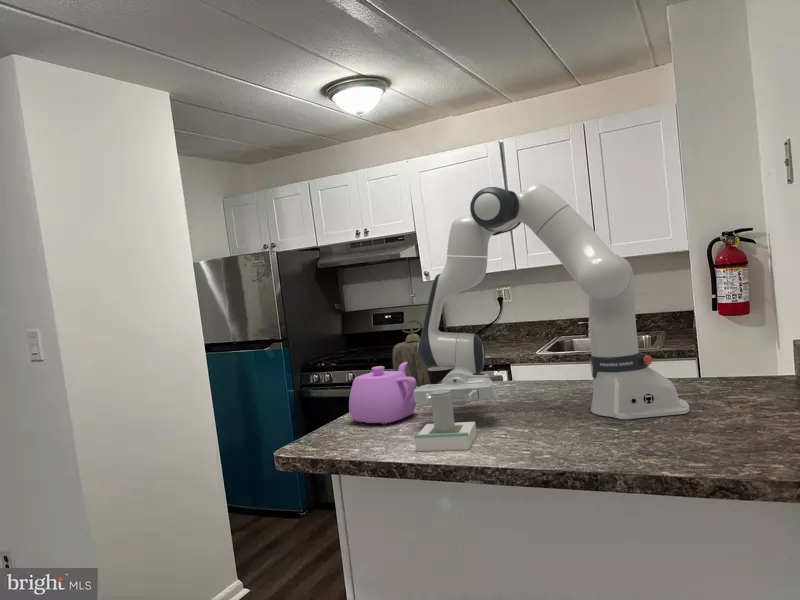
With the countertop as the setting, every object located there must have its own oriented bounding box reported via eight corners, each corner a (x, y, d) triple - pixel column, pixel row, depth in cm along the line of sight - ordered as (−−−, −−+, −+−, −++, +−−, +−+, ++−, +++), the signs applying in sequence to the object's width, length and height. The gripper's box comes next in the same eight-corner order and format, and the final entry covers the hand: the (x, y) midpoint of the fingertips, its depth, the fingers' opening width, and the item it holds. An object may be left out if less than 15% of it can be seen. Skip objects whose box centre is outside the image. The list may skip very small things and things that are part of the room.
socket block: (476, 434, 138) (475, 419, 138) (469, 449, 127) (467, 433, 127) (427, 436, 142) (426, 421, 142) (416, 451, 130) (414, 435, 130)
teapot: (402, 429, 151) (395, 372, 150) (341, 425, 163) (335, 372, 163) (447, 408, 169) (441, 357, 169) (389, 406, 182) (384, 358, 181)
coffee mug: (427, 403, 179) (423, 371, 179) (436, 397, 187) (432, 366, 187) (463, 402, 175) (459, 369, 174) (471, 395, 182) (467, 364, 182)
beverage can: (456, 445, 131) (450, 392, 131) (435, 446, 132) (429, 394, 132) (457, 439, 136) (451, 388, 136) (436, 440, 137) (430, 390, 137)
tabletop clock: (438, 389, 199) (429, 317, 198) (443, 394, 190) (434, 318, 189) (396, 395, 197) (387, 322, 196) (399, 400, 188) (391, 323, 187)
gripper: (418, 378, 156) (405, 389, 143) (494, 373, 151) (489, 383, 138) (421, 401, 157) (408, 414, 143) (497, 397, 151) (491, 410, 138)
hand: (448, 399), depth 140 cm, fingers open, 8 cm apart
